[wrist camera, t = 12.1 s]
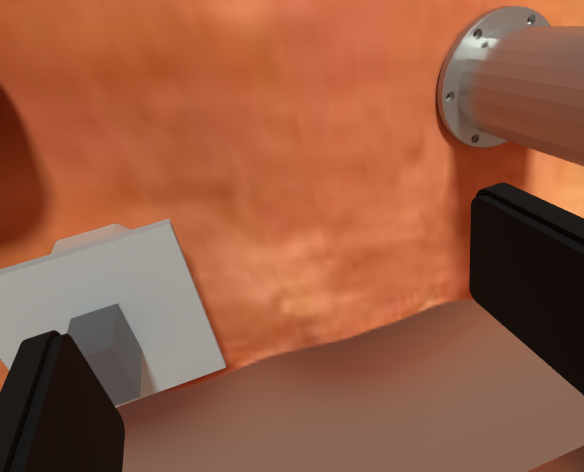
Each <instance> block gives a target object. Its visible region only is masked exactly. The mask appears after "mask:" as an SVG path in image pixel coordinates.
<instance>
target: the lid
mask: <svg viewBox="0 0 584 472" xmlns="http://www.w3.org/2000/svg"><path fill="white" fill-rule="evenodd" d="M52 330H56V331H58V332H59V333H60V334H61V335H62V334H65V333H67V334H69V335H70V336H71V337H72V338H73V340H74V341H75V343H76V345H77V346H78V348H79V349H80V351H81V353H82V354H83V356H84V357H85V359H86V361H87V362H88V364H89V365H90V367H91V369H92V370H93V372H94V374H95V375H96V377H97V378H98V380H99V382H100V383H101V385H102V386H103V388H104V390H105V391H106V393H107V394H108V396H109V398H110V399H111V401H112V402H113V404H114V406H115V407H119V406H122V405H125V404H127V403H130V402H133V401H136V400H139V399H141V398H144V397H147V396H149V395H152V394H155V393H158V392H160V391H163V390H166V389H169V388H171V387H174V386H177V385H180V384H182V383H185V382H188V381H191V380H193V379H196V378H199V377H202V376H204V375H207V374H210V373H213V372H215V371H218V370H221V369H223V368H226V364H225V359H224V357H223V354H222V352H221V349H220V346H219V344H218V341H217V339H216V336H215V334H214V331H213V328H212V326H211V323H210V321H209V318H208V316H207V313H206V310H205V308H204V305H203V303H202V300H201V298H200V295H199V292H198V290H197V287H196V285H195V282H194V280H193V277H192V274H191V272H190V269H189V267H188V264H187V262H186V259H185V256H184V254H183V251H182V249H181V246H180V243H179V241H178V238H177V236H176V233H175V231H174V228H173V225H172V223H171V220H170V218H169V219H166V220H163V221H159V222H156V223H153V224H150V225H146V226H143V227H140V228H136V229H133V230H130V231H126V232H123V233H120V234H116V235H113V236H110V237H106V238H103V239H100V240H97V241H93V242H90V243H87V244H83V245H80V246H77V247H73V248H70V249H67V250H63V251H60V252H57V253H53V254H50V255H47V256H43V257H40V258H37V259H34V260H30V261H27V262H24V263H20V264H17V265H14V266H10V267H7V268H4V269H0V359H1V360H2V361H3V363H4V364H5V365H6V366H7V368H8V369H9V370H10V368H11V366H12V363H13V361H14V358H15V356H16V354H17V351H18V349H19V346H20V344H21V343H22V341H23V340H25V339H28V338H31V337H34V336H37V335H40V334H43V333H46V332H49V331H52Z"/></svg>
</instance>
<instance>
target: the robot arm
mask: <svg viewBox="0 0 584 472" xmlns="http://www.w3.org/2000/svg"><path fill="white" fill-rule="evenodd" d="M437 102H438V109H439V114H440V117H441V119H442V122H443V124H444V126H445V127H446V129H447V131H448V132H449V133H450V134H451V135H452V136H453V137H454V138H455V139H457V140H459V141H460V142H462V143H464V144H467V145H469V146H472V147H479V148H488V147H494V146H498V145H501V144H504V143H505V142H507V141H510V142H513V143H515V144H518V145H521V146H524V147H527V148H530V149H533V150H536V151H539V152H542V153H545V154H548V155H551V156H554V157H557V158H560V159H563V160H566V161H569V162H572V163H575V164H578V165H581V166H584V26H550V24H549V23H548V21H547V20H546V18H544V17H543V16H542V15H541V14H540V13H538V12H537V11H535V10H533V9H530V8H528V7H521V6H507V7H501V8H497V9H493V10H491V11H489V12H487V13H485V14H483V15H481V16H480V17H478V18H477V19H476V20H475V21H473V22H472V23H471V24H469V26H468V27H467V28H466V29H465V30H464V31H463V32H462V33H461V34H460V35H459V37H458V38H457V39H456V41H455V42H454V44H453V45H452V47H451V49H450V51H449V53H448V55H447V57H446V59H445V61H444V64H443V67H442V70H441V73H440V77H439V83H438V93H437ZM469 288H470V292H471V295H472V297H473V298H474V300H475V301H476V302H477V303H478V304H479V305H481V306H482V307H483V308H484V309H485V310H486V311H487V312H489V313H490V314H491V315H492V316H493V317H494V318H495V319H497V320H498V321H499V322H500V323H501V324H502V325H503V326H505V327H506V328H507V329H508V330H509V331H510V332H512V333H513V334H514V335H515V336H516V337H517V338H519V339H520V340H521V341H522V342H523V343H524V344H525V345H527V346H528V347H529V348H530V349H531V350H532V351H533V352H534V353H536V354H537V355H538V356H539V357H540V358H541V359H543V360H544V361H545V362H546V363H547V364H548V365H549V366H551V367H552V368H553V369H554V370H555V371H556V372H557V373H559V374H560V375H561V376H562V377H563V378H564V379H566V380H567V381H568V382H569V383H570V384H571V385H572V386H574V387H575V388H576V389H577V390H578V391H579V392H581V393H582V394H583V395H584V218H581V217H579V216H577V215H575V214H573V213H571V212H568V211H566V210H564V209H562V208H560V207H557V206H555V205H553V204H551V203H549V202H546V201H544V200H542V199H540V198H538V197H536V196H533V195H531V194H529V193H527V192H525V191H522V190H520V189H518V188H516V187H514V186H512V185H509V184H507V183H499V184H496V185H493V186H490V187H487V188H484V189H481V190H479V191H478V192H477V194H476V198H474V199H473V200H472V203H471V237H470V282H469ZM124 438H125V429H124V423H123V420H122V417H121V415H120V414H119V412H118V410H117V409H116V407H115V406H114V404H113V402H112V401H111V399H110V398H109V396H108V394H107V393H106V391H105V390H104V388H103V386H102V385H101V383H100V382H99V380H98V378H97V377H96V375H95V374H94V372H93V370H92V369H91V367H90V365H89V364H88V362H87V361H86V359H85V357H84V356H83V354H82V353H81V351H80V349H79V348H78V346H77V345H76V343H75V341H74V340H73V338H72V337H71V336H70V335H69V334H67V333H65V334H62V335H61V334H60V333H59V332H58V331H56V330H52V331H49V332H46V333H43V334H40V335H37V336H34V337H31V338H28V339H25V340H23V341H22V343H21V344H20V346H19V349H18V351H17V354H16V356H15V358H14V361H13V363H12V366H11V368H10V370H9V373H8V375H7V378H6V380H5V382H4V385H3V387H2V390H1V392H0V472H122V465H123V464H122V463H123V451H124ZM527 472H584V446H582V447H580V448H578V449H575V450H573V451H571V452H569V453H567V454H564V455H562V456H560V457H558V458H555V459H553V460H551V461H549V462H547V463H544V464H542V465H540V466H538V467H536V468H534V469H531V470H529V471H527Z"/></svg>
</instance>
